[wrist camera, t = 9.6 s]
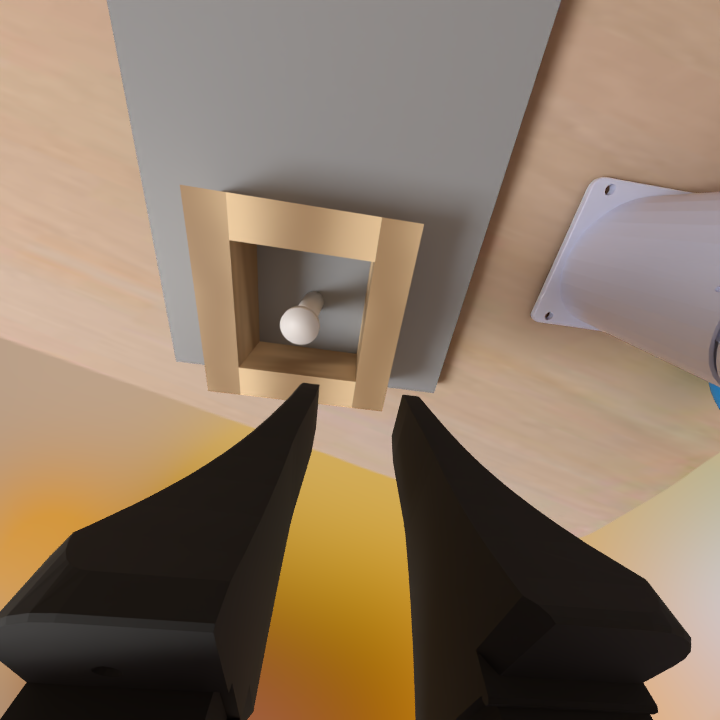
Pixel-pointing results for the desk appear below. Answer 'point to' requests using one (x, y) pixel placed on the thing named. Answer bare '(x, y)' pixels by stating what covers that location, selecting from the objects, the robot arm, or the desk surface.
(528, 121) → the desk surface
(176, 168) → the slate board
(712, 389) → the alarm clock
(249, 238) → the oak frame
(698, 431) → the desk surface
